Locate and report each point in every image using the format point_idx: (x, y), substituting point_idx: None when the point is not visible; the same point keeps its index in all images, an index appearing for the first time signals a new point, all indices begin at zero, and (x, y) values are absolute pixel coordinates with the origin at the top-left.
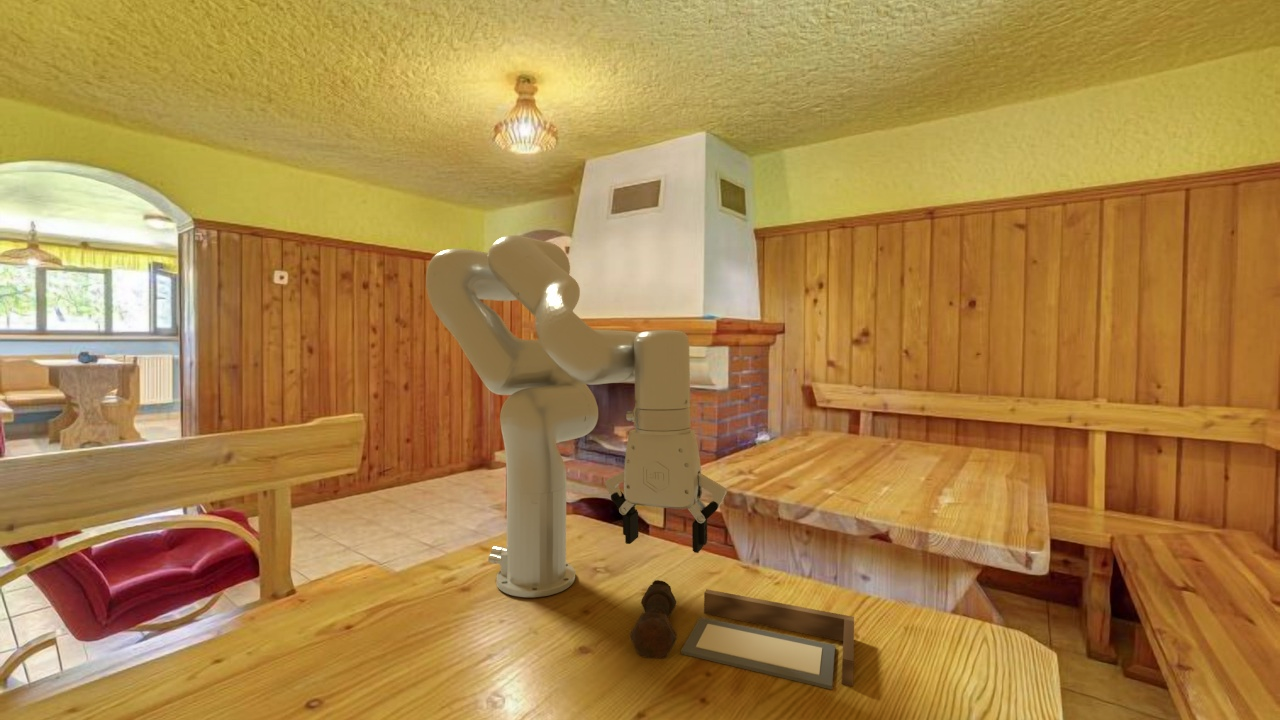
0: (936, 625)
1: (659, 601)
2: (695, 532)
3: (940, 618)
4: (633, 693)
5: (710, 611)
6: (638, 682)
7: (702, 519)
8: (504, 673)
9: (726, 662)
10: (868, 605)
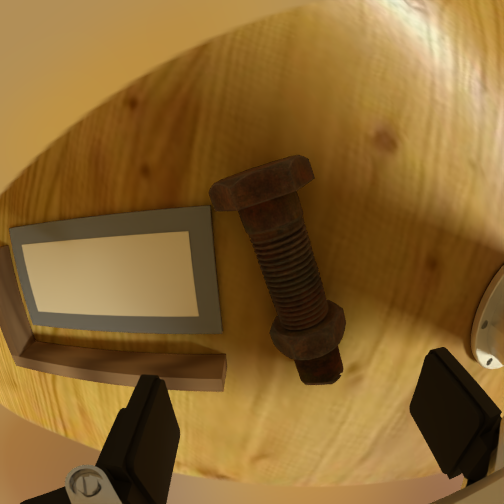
0: (4, 392)
1: (293, 298)
2: (123, 430)
3: (9, 404)
4: (243, 61)
5: (212, 357)
6: (248, 89)
7: (80, 479)
8: (445, 50)
9: (126, 213)
10: (56, 421)
